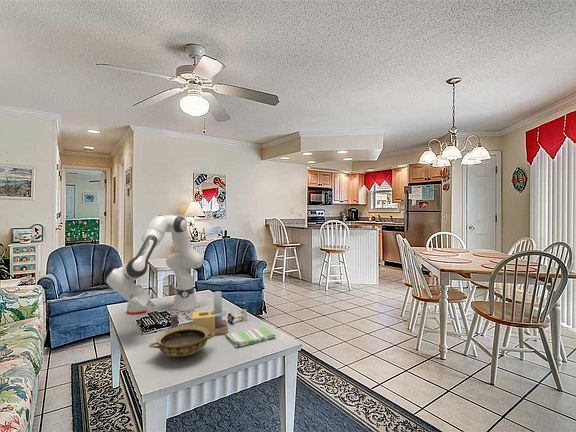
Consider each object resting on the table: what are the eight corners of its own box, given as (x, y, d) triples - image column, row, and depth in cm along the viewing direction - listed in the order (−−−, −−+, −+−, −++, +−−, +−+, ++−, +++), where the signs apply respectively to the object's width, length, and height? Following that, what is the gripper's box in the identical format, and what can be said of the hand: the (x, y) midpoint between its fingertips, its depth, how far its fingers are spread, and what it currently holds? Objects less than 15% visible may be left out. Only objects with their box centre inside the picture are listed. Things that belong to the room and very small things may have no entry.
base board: (186, 325, 186) (186, 323, 186) (225, 321, 193) (225, 319, 193) (185, 339, 167) (185, 336, 167) (228, 334, 174) (228, 331, 174)
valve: (244, 318, 199) (227, 322, 192) (244, 308, 199) (227, 312, 192) (249, 321, 194) (232, 325, 187) (249, 310, 194) (232, 314, 186)
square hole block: (193, 325, 184) (192, 291, 183) (225, 321, 189) (224, 289, 188) (192, 332, 172) (192, 297, 172) (226, 329, 177) (226, 294, 177)
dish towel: (224, 337, 170) (224, 331, 170) (262, 329, 182) (262, 323, 182) (235, 350, 156) (235, 343, 156) (276, 339, 167) (276, 333, 167)
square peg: (171, 332, 176) (171, 315, 176) (178, 332, 177) (177, 314, 177) (171, 335, 173) (170, 317, 173) (177, 334, 174) (177, 316, 174)
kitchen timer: (129, 316, 204) (128, 293, 204) (124, 310, 215) (124, 289, 215) (151, 311, 213) (151, 290, 212) (146, 306, 224) (145, 286, 223)
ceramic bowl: (211, 339, 167) (211, 321, 166) (219, 359, 145) (219, 338, 144) (150, 349, 155) (149, 330, 155) (148, 373, 133) (148, 350, 133)
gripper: (133, 293, 159) (154, 310, 162) (140, 284, 179) (159, 299, 182) (123, 303, 158) (145, 320, 161) (132, 292, 178) (150, 307, 181)
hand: (152, 309), depth 172 cm, fingers open, 8 cm apart
